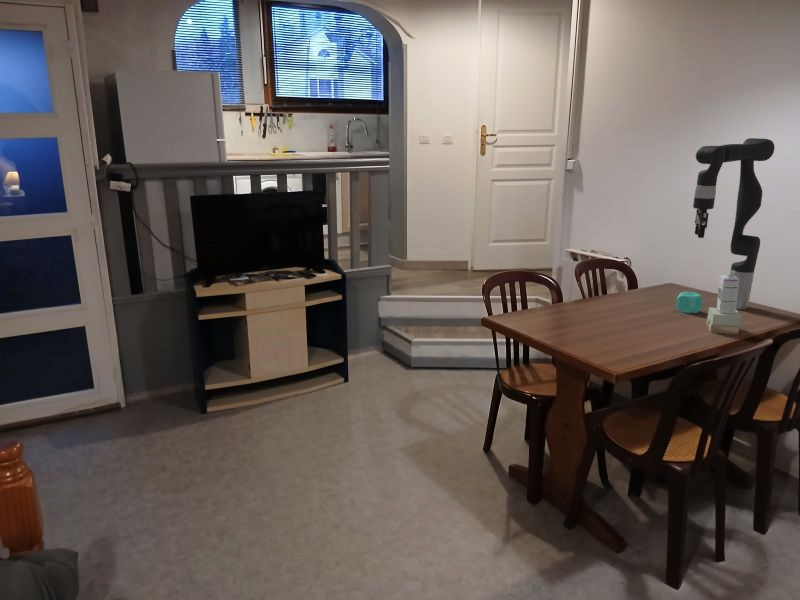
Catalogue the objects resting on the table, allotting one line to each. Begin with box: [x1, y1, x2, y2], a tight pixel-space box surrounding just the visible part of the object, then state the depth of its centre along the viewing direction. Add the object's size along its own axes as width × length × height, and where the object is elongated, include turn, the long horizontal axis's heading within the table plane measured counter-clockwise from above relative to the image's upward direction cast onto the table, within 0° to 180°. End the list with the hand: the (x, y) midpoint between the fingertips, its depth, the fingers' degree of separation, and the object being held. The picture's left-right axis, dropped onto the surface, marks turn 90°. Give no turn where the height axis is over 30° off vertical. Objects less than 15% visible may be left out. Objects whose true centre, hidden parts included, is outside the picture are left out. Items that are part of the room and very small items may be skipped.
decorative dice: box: [675, 291, 704, 314], centre depth 262 cm, size 8×8×8 cm
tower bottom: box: [705, 315, 741, 335], centre depth 238 cm, size 10×10×4 cm
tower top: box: [707, 306, 743, 327], centre depth 237 cm, size 10×10×4 cm
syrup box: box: [715, 274, 739, 314], centre depth 234 cm, size 6×6×14 cm
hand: (699, 236), depth 242 cm, fingers open, 8 cm apart
